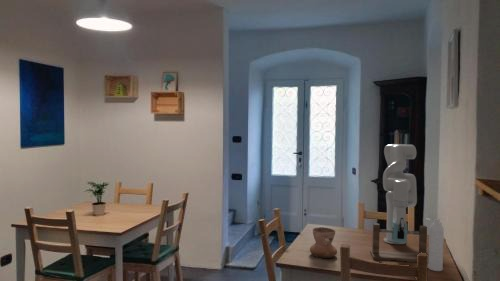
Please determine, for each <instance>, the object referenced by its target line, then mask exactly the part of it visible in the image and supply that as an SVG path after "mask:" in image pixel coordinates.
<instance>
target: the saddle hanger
mask: <svg viewBox="0 0 500 281" xmlns="http://www.w3.org/2000/svg"><path fill="white" fill-rule="evenodd" d="M399 225H401V224H399ZM404 225H405V224H404ZM392 230H394V233H392V239H394V242H404V243H405V244H407V242H408V234H407V231H408V223H407V222H406V225H405V226H404V239H398V238H397V237H398V225H397V226H396V225H395V222H394V221H392Z"/></svg>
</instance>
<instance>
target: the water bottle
mask: <svg viewBox="0 0 500 281" xmlns="http://www.w3.org/2000/svg"><path fill="white" fill-rule="evenodd" d="M431 220H432V219H431V218H429V217H426V218H425V222H431ZM428 232H429V233H428V234H429V235H428V256H427V258H428V263H427V268H428V269H429V270H431V271H434V272H441V271H443V269H444V268H443V267H444V266H443V264H444V262H443V260H444V234H445V233H444V232H445V230H444V227H443V226H442V224H441V223H440V219H439V218H434V219H433V222H432V223H431V224H430V226H429V228H428Z"/></svg>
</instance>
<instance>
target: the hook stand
mask: <svg viewBox="0 0 500 281" xmlns="http://www.w3.org/2000/svg"><path fill="white" fill-rule="evenodd" d="M380 225H381V224H380V223H377V222H375V223H372V245H371V246H372V249H369V253H370V255H371V258H372V260H374V261H375V260H376V261H387V260H396V261H395V262H404V261H407V262H406V263H418V262H417V255H418V254H419V253H421V252H422V253H426V254H427V248H428V247H427V246H428V244H427V243H428V241H427V240H428V239H427V238H428V236H427V235H428V227H427V226H426V225H419V230H407V235H408V234H409V235H411V234H412V235H418V237H419V239H418V240H419V241H418V252H413V251H394V250H393V251H392V250H380V233H386V232H387V233H394V230H387V229H382V228H381V229H380ZM415 261H416V262H415Z"/></svg>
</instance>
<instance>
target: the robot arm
mask: <svg viewBox="0 0 500 281" xmlns="http://www.w3.org/2000/svg"><path fill="white" fill-rule="evenodd" d="M383 153H384V158H385V161H386V163H387V166H386V168H385V170H384V171H383V172H382V173H383V174H382V187H383V190H384V191H385V192H386V193H385V202H386V230H392V221H394V222H395V225H396V226H397V225H398V237H397V238H398V239H404V226H405V225H406V223H407V208H408V207H416V205H417V203H418V196H417V195H418V194H417V193H418V192H417V189H418V188H417V178H416V176H415V174H412V173H406V172H405V173H404V170H405V169H406V168H407V160H415V159H416V157H417V149H416V146H415V145H414V144H404V143H402V144H400V143H391V144H387V145H385V146H384V150H383ZM399 224H401V225H399ZM404 224H405V225H404ZM385 233H386V236H385V237H383V241H384V242H385V243H387V244H391V245H404V244H406V243H404V242H394V239H392V233H387V232H385Z"/></svg>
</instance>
